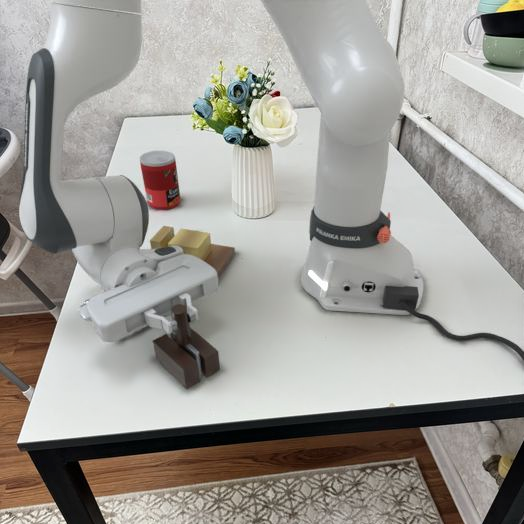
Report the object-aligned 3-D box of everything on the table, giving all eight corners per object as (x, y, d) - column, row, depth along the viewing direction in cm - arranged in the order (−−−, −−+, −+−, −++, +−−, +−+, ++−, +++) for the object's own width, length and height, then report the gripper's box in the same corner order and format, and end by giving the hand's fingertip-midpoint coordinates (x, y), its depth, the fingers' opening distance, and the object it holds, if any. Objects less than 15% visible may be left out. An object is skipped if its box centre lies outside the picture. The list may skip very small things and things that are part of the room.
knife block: (189, 342, 80) (186, 323, 77) (220, 370, 75) (218, 350, 72) (156, 359, 77) (152, 340, 74) (186, 389, 72) (183, 370, 70)
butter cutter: (181, 350, 79) (171, 294, 71) (206, 373, 75) (199, 317, 67) (169, 356, 78) (158, 300, 70) (194, 380, 74) (186, 324, 66)
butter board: (235, 253, 100) (233, 229, 96) (215, 283, 92) (212, 258, 88) (164, 242, 103) (160, 218, 100) (139, 270, 96) (133, 245, 92)
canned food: (175, 211, 113) (168, 164, 106) (142, 208, 115) (133, 162, 107) (185, 197, 119) (179, 151, 111) (154, 194, 120) (146, 149, 113)
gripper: (67, 290, 70) (113, 337, 62) (185, 241, 80) (238, 277, 72) (78, 323, 74) (123, 372, 67) (190, 273, 84) (240, 311, 76)
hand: (184, 322), depth 69 cm, fingers closed on butter cutter, 2 cm apart
